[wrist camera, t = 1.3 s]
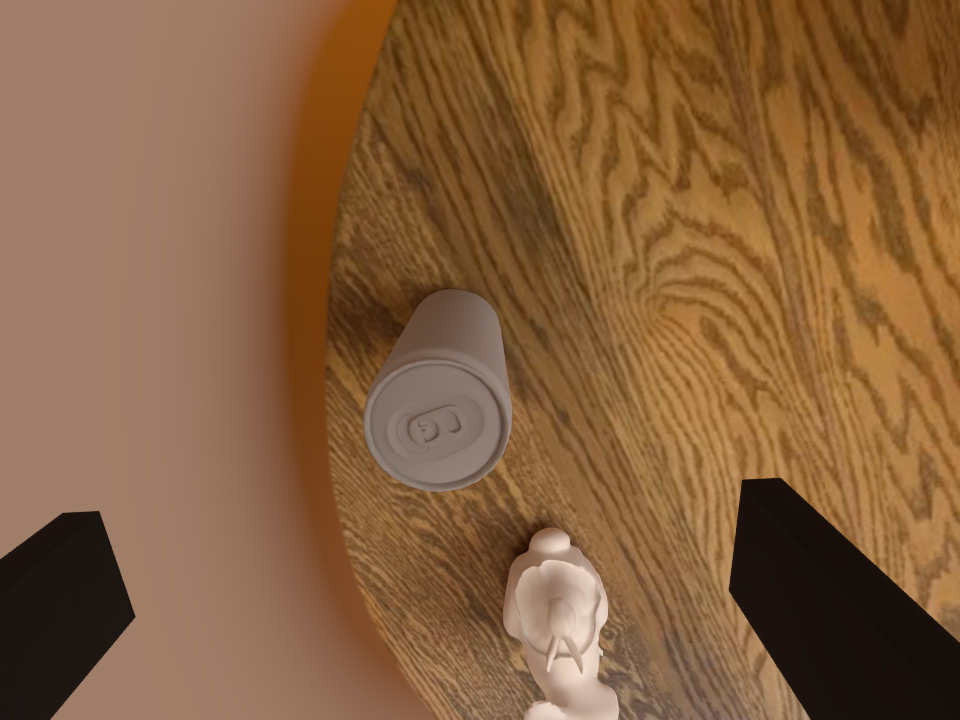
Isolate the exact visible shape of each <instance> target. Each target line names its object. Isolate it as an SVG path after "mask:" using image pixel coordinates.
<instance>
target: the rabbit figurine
mask: <svg viewBox="0 0 960 720" xmlns="http://www.w3.org/2000/svg"><path fill="white" fill-rule="evenodd" d="M607 617H608V603H607V597H606V592H605V590H604V587H603V584H602V582H601V579H600V576H599V574H598V573H597V572H596V570H595V568H594V567H593V565H592V564H591V563H590V562H589V560H588V559H587V558H586V557H584V556H583V555H582V552H581V551H580V550H579V548H577V547H575V546H572V545H570V538H569V536H568V535H567V534H566V533H565V532H564V531H562V530H560V529H558V528H545V529H542V530H540V531H538V532H537V533H536V534H535V535H534V536H533V537H532V539H531V541H530V544H529V550H528V551H527V552H526V553H524V554H521V555H519V556H518V557H517V558H516V559H515V560H514V562H513V564H512V565H511V567H510V570H509V575H508V583H507V587H506V592H505V601H504V606H503V624H504V627H505V629H506V631H507V632H508V634H509V635H511V636H512V637H514V638H516V639H519V640H520V641H521V642H522V645H523V648H524V651H525V654H526V659H527V664H528V667H529V669H530V671H531V673H532V676H533V678H534V680H535V681H536V683H537V684H538V686H539V687H540V688H541V689H542V691H543V692H544V694H545V697H546V701H536V702H534V703H532V704H531V705H530V706H529V707H528V710H526V711H524V719H523V720H618V715H619V709H618V701H617V696H616V693H615V692H614V690H613V689H612V688H610V687H609V686H607V685H604V684H601V683H600V682H599V681H598V679H597V673H598V668H599V655H601V656H603V651H602V650H601V649H600V647H599V646H598V640H599V633H600V629H601V627H602V626H603V625H604V624H605V622H606V620H607Z"/></svg>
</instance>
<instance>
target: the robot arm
mask: <svg viewBox="0 0 960 720" xmlns="http://www.w3.org/2000/svg"><path fill="white" fill-rule="evenodd" d="M729 592H730V593H731V595H732V596H733V598H734V600H735V601H736V603H737V604H738V606H739V607H740V609H741V611H742V612H743V614H744V615H745V617H746V618H747V620H748V622H749V623H750V625H751V626H752V628H753V629H754V631H755V633H756V634H757V636H758V637H759V639H760V640H761V642H762V644H763V645H764V647H765V648H766V650H767V651H768V653H769V654H770V656H771V658H772V659H773V661H774V662H775V664H776V665H777V667H778V669H779V670H780V672H781V673H782V675H783V676H784V678H785V680H786V681H787V683H788V684H789V686H790V687H791V689H792V691H793V692H794V694H795V695H796V697H797V698H798V700H799V702H800V703H801V705H802V706H803V708H804V709H805V711H806V713H807V714H808V716H809V717H810V719H811V720H960V643H959V642H958V641H957V640H956V639H955V638H954V637H953V636H952V635H951V634H950V633H948V632H947V631H946V630H945V629H944V628H943V627H942V626H941V625H940V624H939V623H938V622H937V621H935V620H934V619H933V618H932V617H931V616H930V615H929V614H928V613H927V612H926V611H925V610H923V609H922V608H921V607H920V606H919V605H918V604H917V603H916V602H915V601H914V600H913V599H912V598H910V597H909V596H908V595H907V594H906V593H905V592H904V591H903V590H902V589H901V588H900V587H899V586H897V585H896V584H895V583H894V582H893V581H892V580H891V579H890V578H889V577H888V576H887V575H886V574H884V573H883V572H882V571H881V570H880V569H879V568H878V567H877V566H876V565H875V564H874V563H873V562H871V561H870V560H869V559H868V558H867V557H866V556H865V555H864V554H863V553H862V552H861V551H860V550H858V549H857V548H856V547H855V546H854V545H853V544H852V543H851V542H850V541H849V540H848V539H846V538H845V537H844V536H843V535H842V534H841V533H840V532H839V531H838V530H837V529H836V528H835V527H833V526H832V525H831V524H830V523H829V522H828V521H827V520H826V519H825V518H824V517H823V516H822V515H820V514H819V513H818V512H817V511H816V510H815V509H814V508H813V507H812V506H811V505H810V504H809V503H807V502H806V501H805V500H804V499H803V498H802V497H801V496H800V495H799V494H798V493H797V492H796V491H794V490H793V489H792V488H791V487H790V486H789V485H788V484H787V483H786V482H785V481H784V480H783V479H781V478H767V479H746V480H742V485H741V493H740V502H739V510H738V518H737V527H736V535H735V543H734V552H733V560H732V568H731V576H730V585H729ZM134 618H135V614H134V611H133V608H132V605H131V602H130V599H129V596H128V593H127V590H126V588H125V585H124V582H123V579H122V576H121V573H120V570H119V567H118V564H117V561H116V558H115V556H114V553H113V550H112V547H111V544H110V541H109V538H108V535H107V532H106V529H105V527H104V523H103V521H102V518H101V515H100V512H99V511H91V512H72V513H62V514H61V515H59V516H58V517H57V518H55V519H54V520H53V521H51V522H50V523H48V524H47V525H46V526H44V527H43V528H42V529H40V530H39V531H38V532H36V533H35V534H34V535H32V536H31V537H30V538H28V539H27V540H26V541H24V542H23V543H22V544H20V545H19V546H18V547H16V548H15V549H14V550H12V551H11V552H9V553H8V554H7V555H6V556H4V557H3V558H1V559H0V720H50V719H51V718H52V717H53V716H54V714H55V713H56V712H57V711H58V710H59V708H60V707H61V706H62V705H63V704H64V702H65V701H66V700H67V699H68V698H69V696H70V695H71V694H72V693H73V692H74V690H75V689H76V688H77V687H78V686H79V684H80V683H81V682H82V681H83V679H84V678H85V677H86V676H87V675H88V674H89V672H90V671H91V670H92V669H93V668H94V666H95V665H96V664H97V663H98V662H99V660H100V659H101V658H102V657H103V656H104V654H105V653H106V652H107V651H108V649H109V648H110V647H111V646H112V645H113V643H114V642H115V641H116V640H117V639H118V637H119V636H120V635H121V634H122V633H123V631H124V630H125V629H126V628H127V626H128V625H129V624H130V623H131V622H132V621H133V619H134Z"/></svg>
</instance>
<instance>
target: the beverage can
mask: <svg viewBox="0 0 960 720" xmlns="http://www.w3.org/2000/svg"><path fill="white" fill-rule="evenodd" d="M364 411H365V413H364V416H363V420H364V436H365V439H366V442H367V445H368V448H369V451H370V452H371V454H372V455H373V457H374V458H375V460H376V461H377V463H378V464H379V466H380V467H381V468H383V469H384V470H385V471H386V472H387V473H388V474H389V475H390V476H391V477H393V478H394V479H396V480H398V481H400V482H402V483H404V484H406V485H407V486H410V487H413V488H417V489H421V490H425V491H441V492H445V491H451V490H456V489H461V488H464V487H466V486H468V485H470V484H473V483H475V482H477V481H479V480H480V479H481V478H483V477H484V476H485V475H486V474H488V473H489V472H490V471H491V470H493V468H494V467H495V465H496V464H497V463H498V461H499V460H500V458H501V457H502V456H503V453H504V450H505V447H506V445H507V442H508V439H509V435H510V432H511V426H512V405H511V398H510V391H509V384H508V377H507V370H506V363H505V356H504V349H503V342H502V335H501V328H500V324H499V319H498V316H497V315H496V313H495V311H494V309H493V307H492V306H491V305H490V304H489V303H488V302H487V301H486V300H485V299H483V298H481V297H480V296H478V295H476V294H475V293H471V292H468V291H465V290H458V289H446V290H440V291H437V292H435V293H433V294H431V295H429V296H427V297H426V298H425V299H424V300H423V301H422V302H421V303H420V304H419V305H418V307H417V309H416V310H415V312H414V314H413V315H412V317H411V319H410V320H409V322H408V324H407V325H406V327H405V329H404V330H403V332H402V334H401V336H400V337H399V339H398V341H397V342H396V344H395V346H394V347H393V349H392V351H391V353H390V354H389V356H388V358H387V359H386V361H385V363H384V364H383V366H382V368H381V369H380V371H379V373H378V375H377V376H376V378H375V380H374V381H373V383H372V385H371V386H370V388H369V391H368V395H367V399H366V403H365V407H364Z"/></svg>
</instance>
